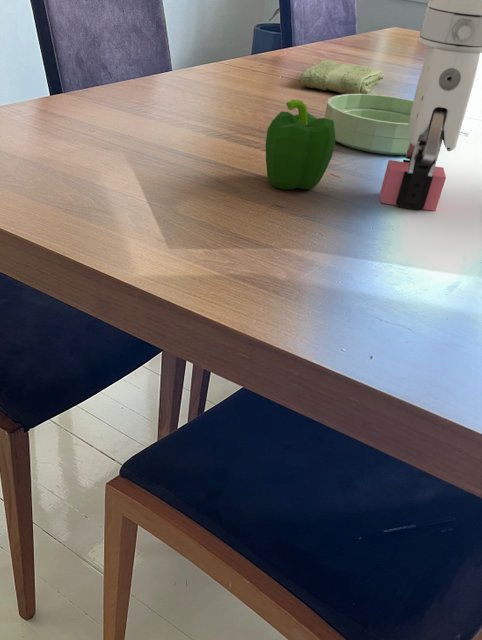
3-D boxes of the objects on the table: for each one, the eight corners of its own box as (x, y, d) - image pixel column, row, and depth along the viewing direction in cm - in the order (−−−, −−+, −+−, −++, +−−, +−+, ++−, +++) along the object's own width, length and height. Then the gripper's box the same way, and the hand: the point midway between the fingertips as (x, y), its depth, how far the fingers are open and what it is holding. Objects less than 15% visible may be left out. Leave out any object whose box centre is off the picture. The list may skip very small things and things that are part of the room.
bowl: (433, 132, 116) (441, 102, 113) (440, 164, 103) (451, 130, 100) (324, 118, 119) (330, 88, 116) (318, 147, 105) (324, 114, 103)
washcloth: (384, 83, 144) (388, 64, 142) (362, 99, 131) (367, 80, 129) (319, 72, 148) (323, 54, 146) (293, 87, 135) (296, 68, 133)
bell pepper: (311, 174, 95) (328, 91, 89) (333, 196, 89) (353, 109, 83) (249, 173, 94) (262, 89, 88) (267, 196, 88) (283, 107, 81)
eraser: (433, 200, 90) (443, 167, 88) (435, 211, 87) (446, 177, 85) (380, 192, 91) (388, 159, 89) (380, 203, 88) (389, 169, 86)
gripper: (505, 47, 71) (444, 230, 82) (485, 23, 84) (435, 184, 95) (426, 38, 72) (377, 220, 83) (418, 16, 85) (376, 176, 96)
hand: (408, 199), depth 89 cm, fingers closed on eraser, 4 cm apart
